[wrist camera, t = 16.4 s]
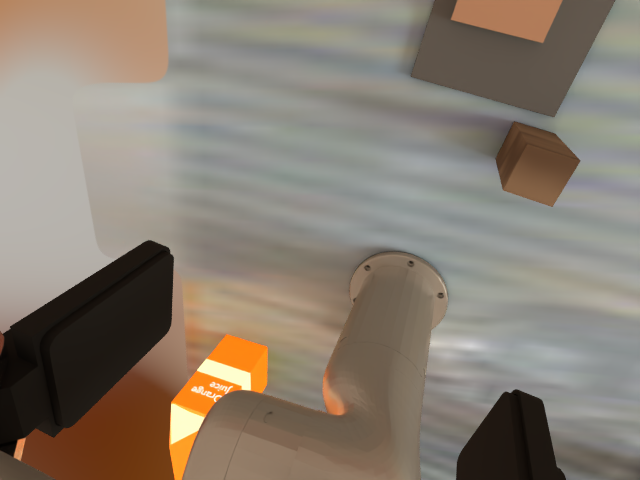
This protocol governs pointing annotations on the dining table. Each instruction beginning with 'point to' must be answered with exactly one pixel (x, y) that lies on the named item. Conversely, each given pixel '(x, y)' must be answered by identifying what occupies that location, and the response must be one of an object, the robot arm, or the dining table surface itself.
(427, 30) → the mat
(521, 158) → the block
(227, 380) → the orange juice
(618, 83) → the dining table surface
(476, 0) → the tile
